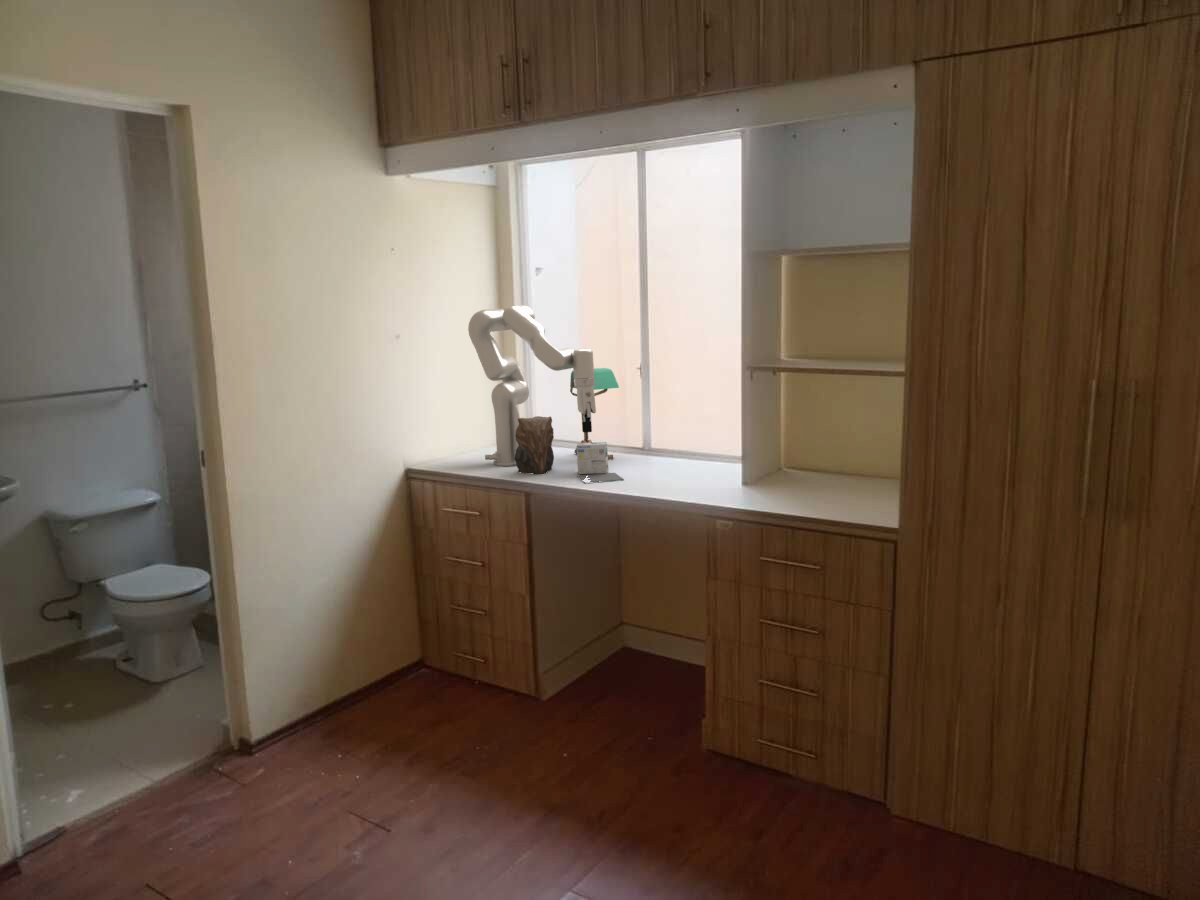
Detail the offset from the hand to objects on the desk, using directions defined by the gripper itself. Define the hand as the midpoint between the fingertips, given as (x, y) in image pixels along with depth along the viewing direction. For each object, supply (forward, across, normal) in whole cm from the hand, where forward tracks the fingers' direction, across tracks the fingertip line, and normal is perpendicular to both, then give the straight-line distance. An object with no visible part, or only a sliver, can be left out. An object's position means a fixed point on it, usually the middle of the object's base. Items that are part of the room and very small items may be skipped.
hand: (587, 431), depth 321 cm
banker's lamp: (+14, +22, -7) cm, 27 cm away
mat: (+14, -19, +1) cm, 24 cm away
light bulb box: (+14, -9, +1) cm, 17 cm away
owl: (+13, +2, +20) cm, 24 cm away
